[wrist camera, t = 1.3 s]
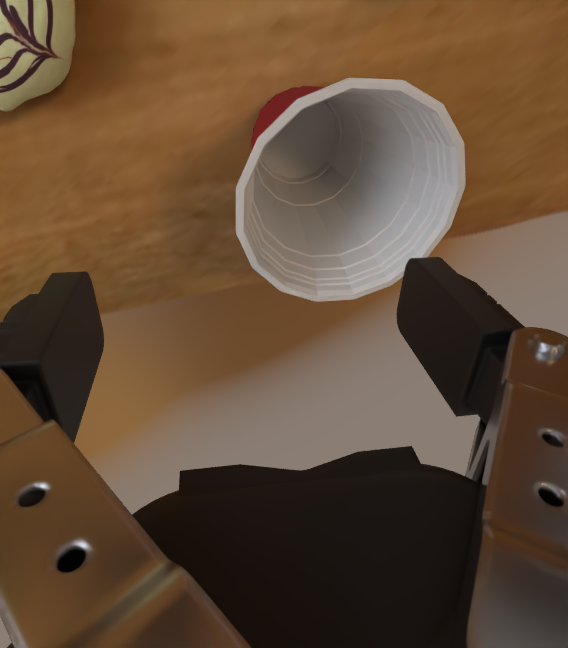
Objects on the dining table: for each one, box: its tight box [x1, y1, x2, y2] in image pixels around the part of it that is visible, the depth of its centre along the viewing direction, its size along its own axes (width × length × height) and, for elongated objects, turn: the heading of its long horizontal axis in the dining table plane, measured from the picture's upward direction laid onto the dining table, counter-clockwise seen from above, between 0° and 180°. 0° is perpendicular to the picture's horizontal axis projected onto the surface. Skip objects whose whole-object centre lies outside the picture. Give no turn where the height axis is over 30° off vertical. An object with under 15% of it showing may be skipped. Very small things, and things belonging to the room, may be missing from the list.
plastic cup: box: [236, 78, 465, 302], centre depth 25 cm, size 11×11×12 cm
